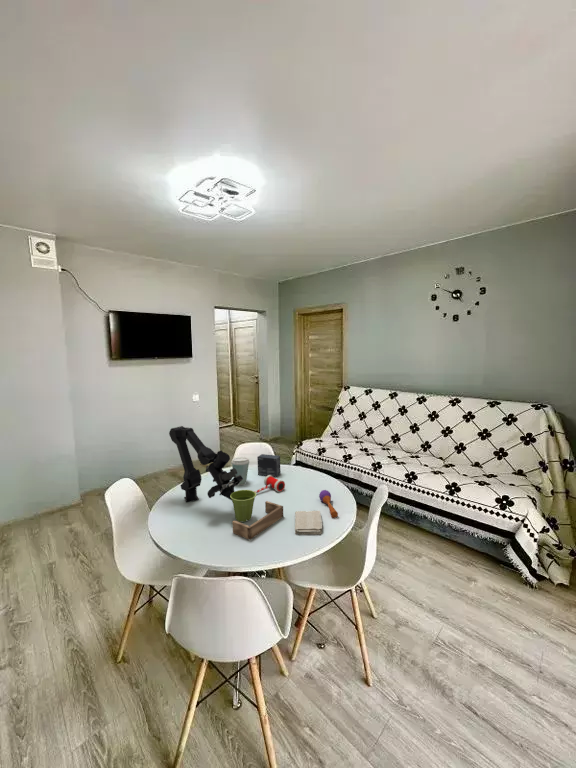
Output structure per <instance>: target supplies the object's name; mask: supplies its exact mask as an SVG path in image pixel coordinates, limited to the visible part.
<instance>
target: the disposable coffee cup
mask: <svg viewBox="0 0 576 768" xmlns="http://www.w3.org/2000/svg"><path fill="white" fill-rule="evenodd" d="M249 465H250V459H249V458H248V457H245V456H244V457H243V456H241V457H234V458H232V460H231V467H232V468H231V469H233V468H235V469H236V470H237V474H236V476H238V475H241V476H242V478H243V480H242V481H241V482H240V483H239V484H238V485H237V486H244V485H245V484H246V483H247V480H248V474H249V473H248V472H249Z"/></svg>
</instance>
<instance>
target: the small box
mask: <svg viewBox="0 0 576 768" xmlns="http://www.w3.org/2000/svg"><path fill="white" fill-rule="evenodd" d="M256 460H257V476H258V475H259V476H260V477H266V476H268V475H271V476H273V477H274V478H276V477H277V478H278V477H279V476H281V455H275V454H274V455H273V454H264V453H261V454H260V455H258V456H257V459H256Z"/></svg>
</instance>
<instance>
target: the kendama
mask: <svg viewBox="0 0 576 768" xmlns="http://www.w3.org/2000/svg"><path fill="white" fill-rule="evenodd" d="M318 495H319V496H318V498H319V500H320V501H321V502H322V503H324V504H326V505H327V506H328V509H329V513H330V516H331V518H332V519H335V518H337V517H338V516H339V512H338V511H337V510H336V509H335V507H333V505H332V503H331V499H332V494H331V492H330V491H329V490H327V489H323V490H321V491H320V492H319V494H318Z"/></svg>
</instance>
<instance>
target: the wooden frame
mask: <svg viewBox="0 0 576 768" xmlns="http://www.w3.org/2000/svg"><path fill="white" fill-rule="evenodd" d="M264 506H265V513H267V514H266V515H264V516H263V517H261V518H259V519H258V520H256V521H255V522H253V523H252V524H250V525H248V524H245V523H244V522H239V521H237V520H236V519H235V520H233V521H232V522H231V523H232V533H233V534H235V535H238V536H239V537H242V538H244V539H247V540H249V541H251V540H252V539H254V538H255V537H256V536H258V535H260V534H261V533H262V532H263V531H265V530H267V528H269V527H271V526H272V525H273V524H275V523H276V522H278V521H279V520H280V519H282V518H284V505H280V504H278V503H274V502H272V501H268V500H266V501H264Z"/></svg>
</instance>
